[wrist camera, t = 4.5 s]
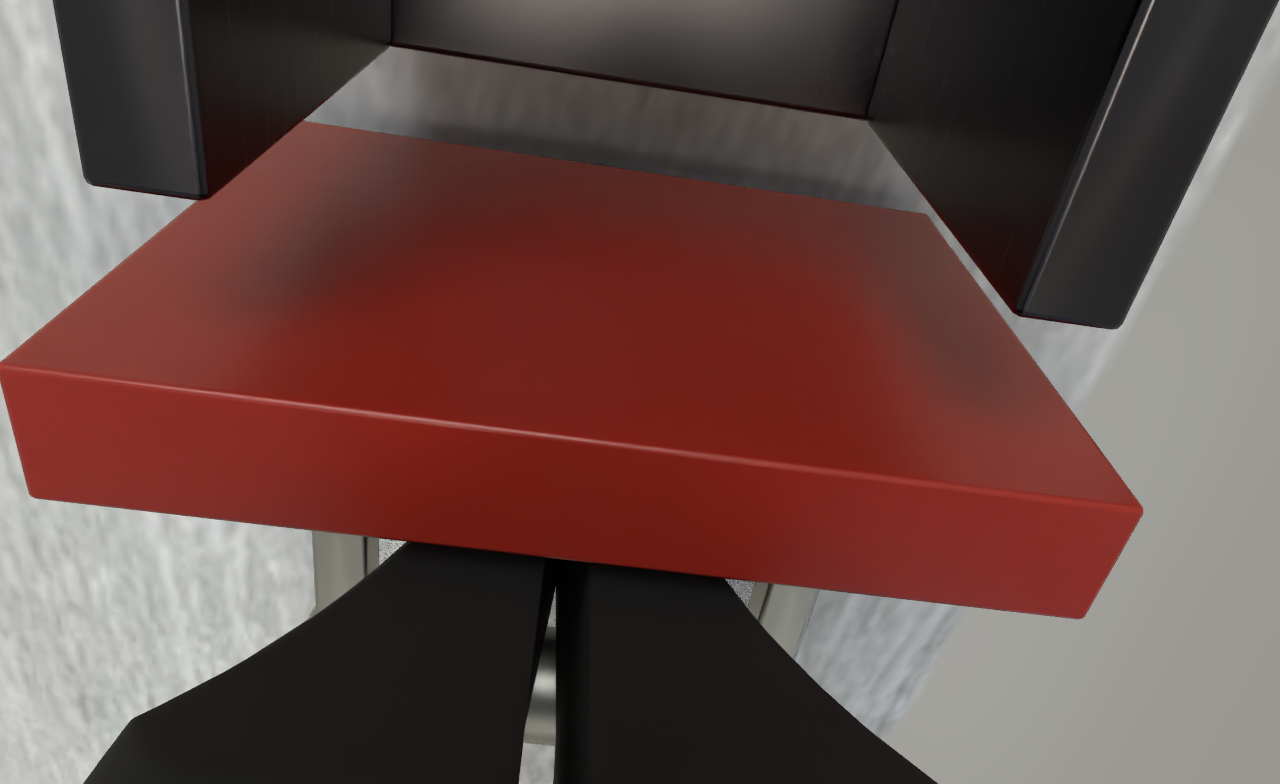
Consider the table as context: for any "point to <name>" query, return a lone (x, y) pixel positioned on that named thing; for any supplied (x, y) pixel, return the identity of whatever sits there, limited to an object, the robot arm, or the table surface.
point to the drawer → (626, 294)
